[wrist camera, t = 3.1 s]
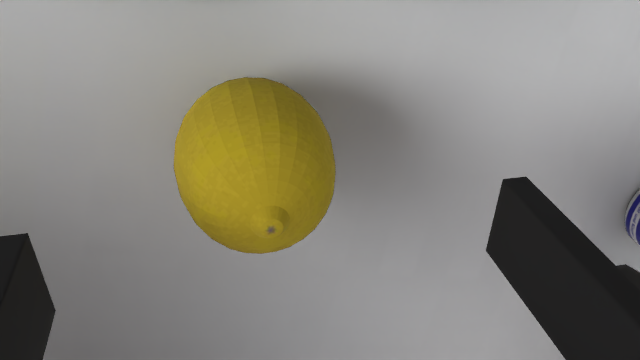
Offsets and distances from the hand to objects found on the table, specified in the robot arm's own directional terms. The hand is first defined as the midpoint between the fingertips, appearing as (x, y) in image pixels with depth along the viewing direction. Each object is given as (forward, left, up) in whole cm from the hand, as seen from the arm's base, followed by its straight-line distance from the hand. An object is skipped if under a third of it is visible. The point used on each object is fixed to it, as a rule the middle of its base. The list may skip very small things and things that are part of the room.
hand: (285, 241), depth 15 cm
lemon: (0, 0, -9) cm, 9 cm away
